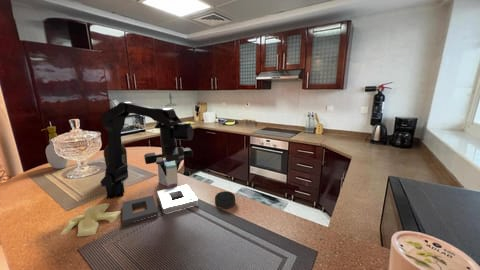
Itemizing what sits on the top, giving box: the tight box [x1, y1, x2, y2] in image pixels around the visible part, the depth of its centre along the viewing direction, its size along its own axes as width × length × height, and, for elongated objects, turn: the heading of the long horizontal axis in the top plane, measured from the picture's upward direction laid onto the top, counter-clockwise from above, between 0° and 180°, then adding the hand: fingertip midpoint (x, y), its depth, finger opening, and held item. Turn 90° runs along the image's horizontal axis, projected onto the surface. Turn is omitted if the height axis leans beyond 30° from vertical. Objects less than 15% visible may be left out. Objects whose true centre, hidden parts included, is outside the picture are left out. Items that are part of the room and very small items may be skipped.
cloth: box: [60, 203, 122, 237], centre depth 74 cm, size 22×19×6 cm
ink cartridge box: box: [157, 158, 178, 188], centre depth 104 cm, size 10×6×14 cm, turn 53°
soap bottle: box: [40, 126, 68, 170], centre depth 122 cm, size 14×9×26 cm, turn 67°
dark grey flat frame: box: [121, 195, 159, 226], centre depth 81 cm, size 12×14×2 cm
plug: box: [164, 161, 179, 185], centre depth 84 cm, size 4×6×8 cm, turn 29°
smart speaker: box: [214, 191, 236, 209], centre depth 87 cm, size 9×9×4 cm
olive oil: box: [103, 143, 129, 180], centre depth 108 cm, size 11×11×25 cm
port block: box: [156, 184, 199, 215], centre depth 88 cm, size 14×16×3 cm
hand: (171, 174), depth 84 cm, fingers closed on plug, 4 cm apart
